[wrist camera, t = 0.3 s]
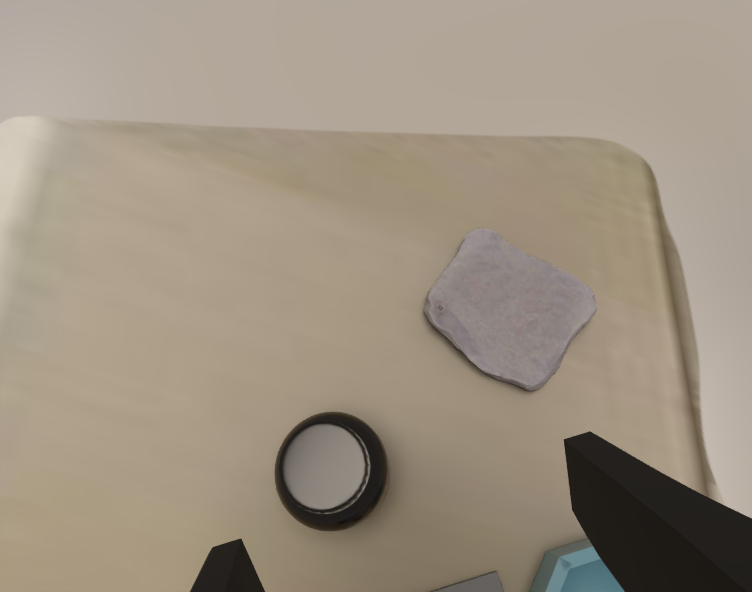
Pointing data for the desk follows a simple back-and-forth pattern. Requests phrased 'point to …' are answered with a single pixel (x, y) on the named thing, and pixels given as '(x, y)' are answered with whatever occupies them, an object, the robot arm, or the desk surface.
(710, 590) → the robot arm
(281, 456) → the supplement bottle
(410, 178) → the desk surface
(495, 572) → the mat
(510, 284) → the stone block
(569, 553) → the bowl
